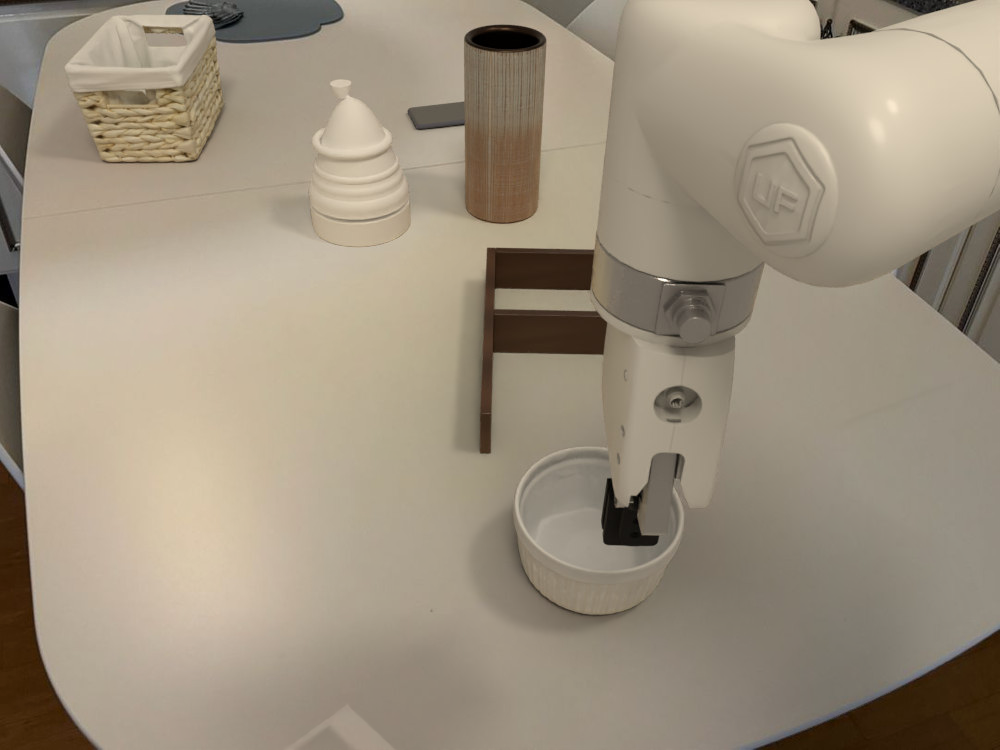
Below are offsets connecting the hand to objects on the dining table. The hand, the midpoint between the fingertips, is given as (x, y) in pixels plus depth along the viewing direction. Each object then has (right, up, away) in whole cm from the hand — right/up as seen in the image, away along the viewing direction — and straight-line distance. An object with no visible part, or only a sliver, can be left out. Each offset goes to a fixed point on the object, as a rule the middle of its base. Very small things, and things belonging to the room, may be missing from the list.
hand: (628, 534), depth 51 cm
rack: (0, +11, +41) cm, 42 cm away
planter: (-7, +33, +67) cm, 75 cm away
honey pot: (-26, +30, +63) cm, 74 cm away
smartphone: (-15, +52, +90) cm, 105 cm away
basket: (-60, +47, +83) cm, 113 cm away
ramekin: (0, -6, +20) cm, 21 cm away
